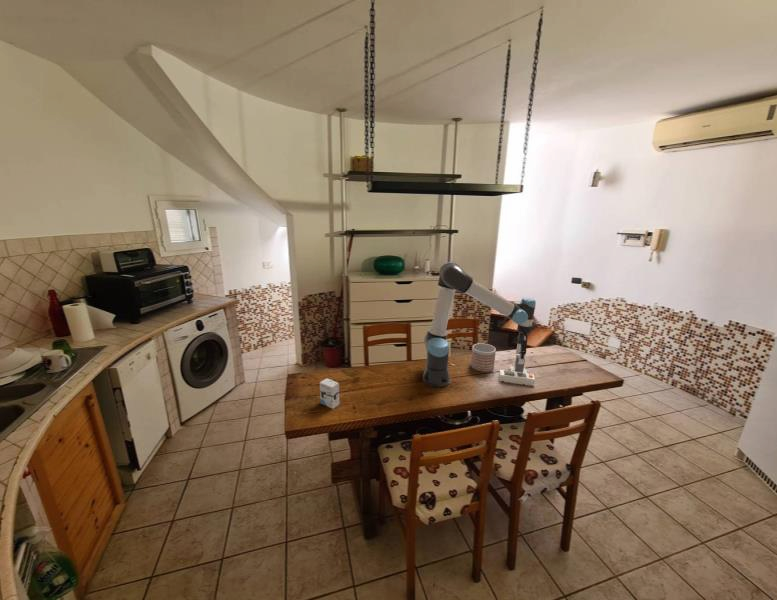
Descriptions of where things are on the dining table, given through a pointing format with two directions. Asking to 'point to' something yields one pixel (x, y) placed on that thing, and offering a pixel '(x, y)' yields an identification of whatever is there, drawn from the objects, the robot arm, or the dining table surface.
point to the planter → (483, 357)
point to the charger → (519, 365)
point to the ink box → (329, 393)
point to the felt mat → (514, 369)
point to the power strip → (517, 377)
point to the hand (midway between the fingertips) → (519, 358)
